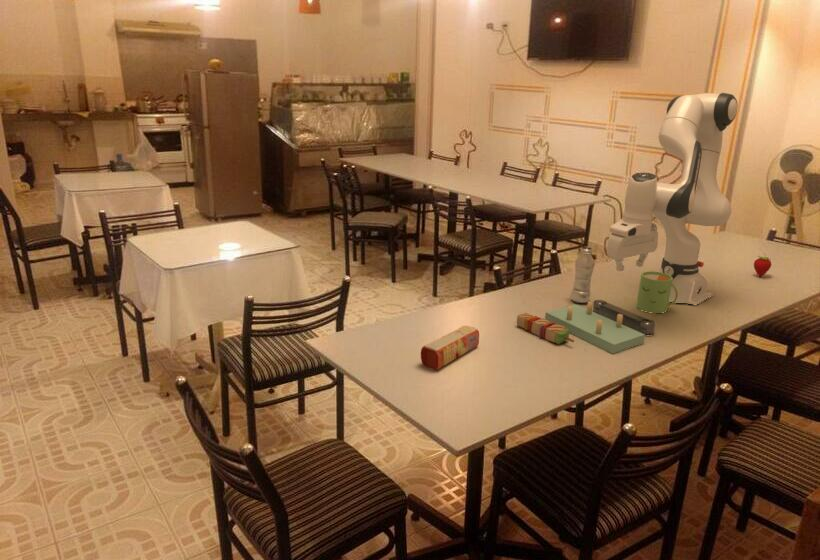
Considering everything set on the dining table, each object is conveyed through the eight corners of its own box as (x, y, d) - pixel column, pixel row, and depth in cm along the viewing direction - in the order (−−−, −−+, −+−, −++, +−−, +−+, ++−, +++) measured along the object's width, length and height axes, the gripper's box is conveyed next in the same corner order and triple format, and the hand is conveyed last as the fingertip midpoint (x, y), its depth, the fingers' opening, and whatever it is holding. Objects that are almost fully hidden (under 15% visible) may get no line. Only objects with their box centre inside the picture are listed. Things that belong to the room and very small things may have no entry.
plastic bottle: (573, 297, 221) (579, 244, 214) (591, 301, 218) (598, 247, 211) (567, 302, 216) (574, 248, 209) (586, 306, 212) (593, 252, 206)
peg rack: (574, 312, 207) (577, 293, 205) (643, 343, 185) (647, 322, 183) (544, 320, 200) (546, 300, 198) (612, 353, 178) (615, 332, 176)
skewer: (513, 328, 195) (514, 313, 193) (526, 323, 199) (528, 309, 197) (565, 351, 180) (567, 336, 178) (579, 345, 183) (581, 330, 182)
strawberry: (747, 276, 247) (752, 252, 244) (756, 273, 251) (762, 250, 248) (762, 280, 243) (768, 256, 239) (771, 277, 247) (777, 253, 243)
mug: (633, 310, 210) (639, 278, 206) (638, 301, 219) (643, 269, 215) (673, 318, 204) (679, 284, 200) (676, 307, 213) (681, 275, 209)
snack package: (462, 341, 185) (463, 320, 182) (481, 347, 181) (482, 327, 178) (418, 365, 169) (419, 344, 167) (437, 373, 165) (438, 351, 163)
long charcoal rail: (598, 309, 210) (599, 299, 209) (656, 334, 192) (658, 323, 190) (589, 312, 208) (591, 301, 207) (647, 337, 189) (649, 325, 188)
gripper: (649, 220, 197) (642, 260, 201) (606, 227, 186) (600, 270, 191) (666, 224, 192) (658, 266, 196) (622, 232, 181) (616, 276, 186)
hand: (629, 268), depth 193 cm, fingers open, 8 cm apart
